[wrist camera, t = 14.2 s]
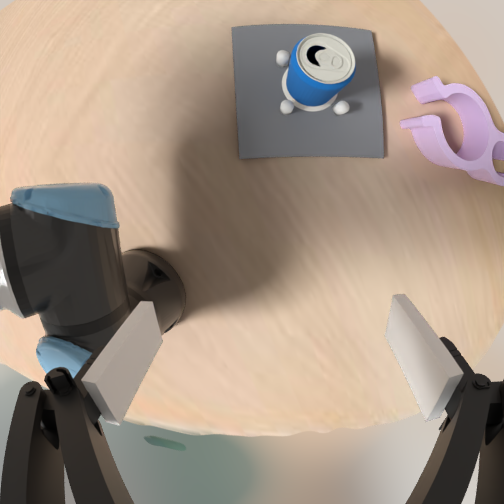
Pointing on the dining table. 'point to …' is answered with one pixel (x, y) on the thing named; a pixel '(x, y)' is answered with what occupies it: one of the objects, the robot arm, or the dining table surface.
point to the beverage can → (319, 69)
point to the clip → (474, 124)
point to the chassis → (298, 115)
